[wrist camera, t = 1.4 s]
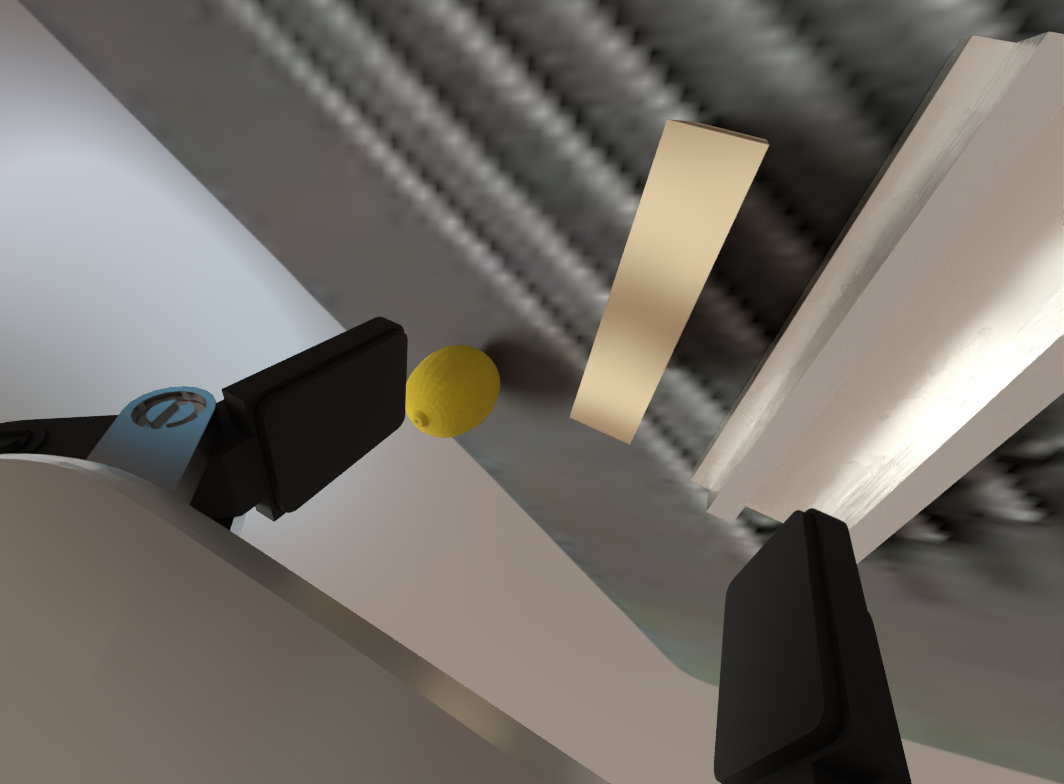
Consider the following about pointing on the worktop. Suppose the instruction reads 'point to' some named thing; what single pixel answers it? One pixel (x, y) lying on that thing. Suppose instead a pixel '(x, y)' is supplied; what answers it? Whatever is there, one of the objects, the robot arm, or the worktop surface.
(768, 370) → the bottom track
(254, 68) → the worktop surface
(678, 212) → the tan wooden block
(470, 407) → the lemon
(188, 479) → the robot arm
